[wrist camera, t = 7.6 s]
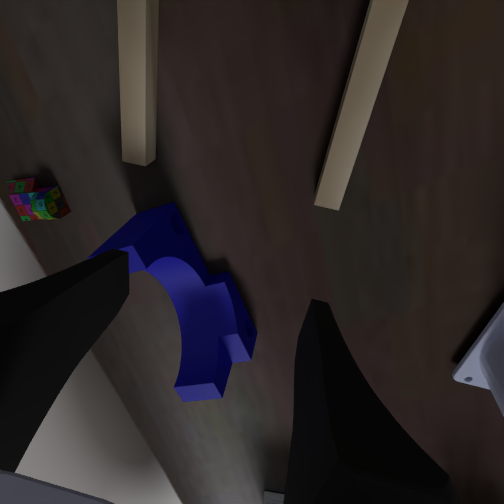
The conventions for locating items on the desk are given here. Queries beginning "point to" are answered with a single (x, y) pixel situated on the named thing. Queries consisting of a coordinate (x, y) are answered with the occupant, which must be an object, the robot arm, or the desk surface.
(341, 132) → the channel
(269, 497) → the skincare box
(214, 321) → the cable clip
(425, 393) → the desk surface
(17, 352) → the robot arm
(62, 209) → the multicolored checkered block
